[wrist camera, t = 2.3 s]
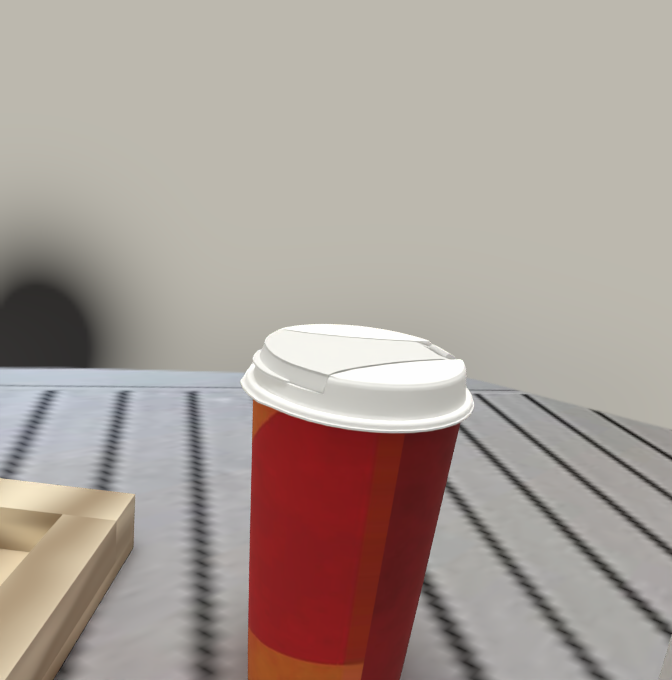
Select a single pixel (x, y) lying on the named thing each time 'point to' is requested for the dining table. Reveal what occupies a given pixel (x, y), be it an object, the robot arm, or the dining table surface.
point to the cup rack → (55, 569)
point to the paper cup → (345, 495)
